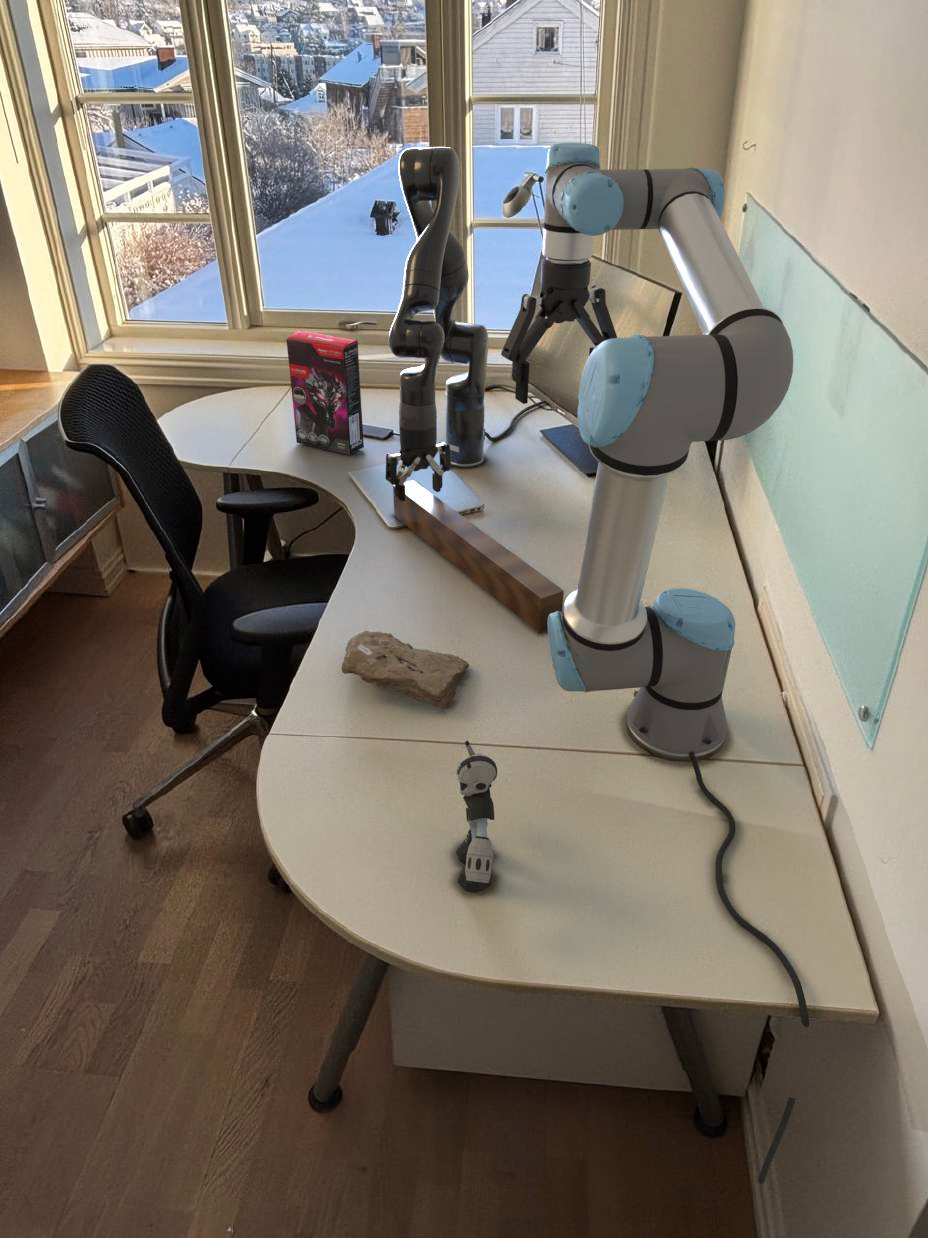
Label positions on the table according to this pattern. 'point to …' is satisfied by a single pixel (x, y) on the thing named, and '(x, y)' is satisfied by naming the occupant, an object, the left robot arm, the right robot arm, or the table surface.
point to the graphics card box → (326, 391)
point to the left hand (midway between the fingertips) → (419, 495)
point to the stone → (404, 667)
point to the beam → (480, 556)
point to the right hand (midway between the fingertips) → (557, 394)
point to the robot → (476, 819)
